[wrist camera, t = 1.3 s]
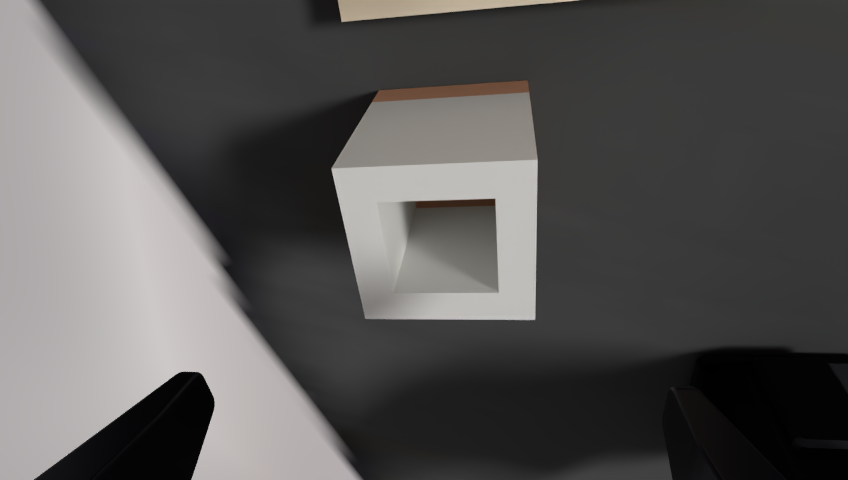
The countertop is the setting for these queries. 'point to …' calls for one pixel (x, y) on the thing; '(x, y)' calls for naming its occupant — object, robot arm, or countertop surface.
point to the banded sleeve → (443, 203)
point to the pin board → (420, 7)
